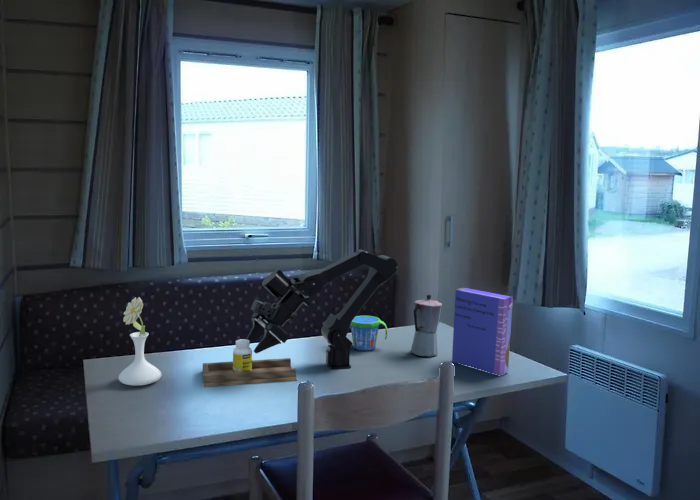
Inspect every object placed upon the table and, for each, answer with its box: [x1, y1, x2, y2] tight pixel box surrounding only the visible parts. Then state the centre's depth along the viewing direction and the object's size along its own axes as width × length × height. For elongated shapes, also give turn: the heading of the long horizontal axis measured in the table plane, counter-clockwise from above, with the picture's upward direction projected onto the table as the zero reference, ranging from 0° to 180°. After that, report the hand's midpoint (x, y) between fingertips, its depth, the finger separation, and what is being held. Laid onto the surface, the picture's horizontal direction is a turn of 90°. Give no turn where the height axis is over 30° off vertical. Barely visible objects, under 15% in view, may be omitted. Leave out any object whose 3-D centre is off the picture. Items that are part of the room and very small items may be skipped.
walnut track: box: [202, 357, 298, 388], centre depth 175 cm, size 26×13×3 cm, turn 105°
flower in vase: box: [118, 296, 162, 387], centre depth 166 cm, size 13×11×25 cm
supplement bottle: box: [232, 338, 253, 372], centre depth 174 cm, size 5×5×10 cm
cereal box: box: [451, 287, 514, 376], centre depth 187 cm, size 17×5×24 cm, turn 45°
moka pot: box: [410, 294, 443, 357], centre depth 199 cm, size 10×15×20 cm, turn 148°
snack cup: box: [349, 315, 389, 351], centre depth 205 cm, size 16×10×10 cm
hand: (250, 347), depth 175 cm, fingers open, 9 cm apart
